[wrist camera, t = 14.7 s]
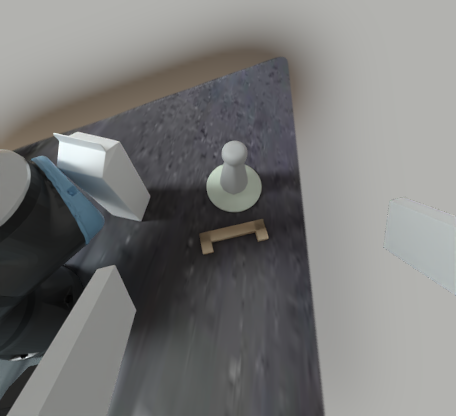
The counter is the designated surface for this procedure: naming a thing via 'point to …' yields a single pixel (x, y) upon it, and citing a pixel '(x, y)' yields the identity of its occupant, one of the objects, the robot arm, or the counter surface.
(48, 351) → the robot arm
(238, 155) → the salt shaker
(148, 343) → the counter surface
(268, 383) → the counter surface
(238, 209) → the disc
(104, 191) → the milk
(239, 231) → the oak holder
